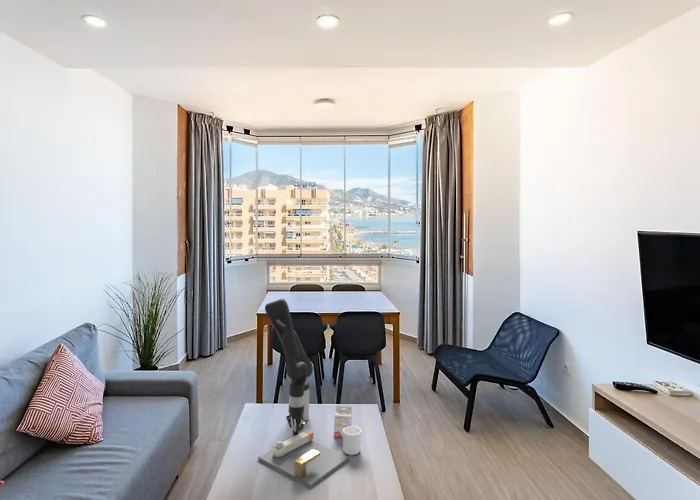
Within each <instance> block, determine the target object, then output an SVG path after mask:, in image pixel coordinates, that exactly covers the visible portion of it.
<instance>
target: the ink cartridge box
mask: <svg viewBox="0 0 700 500" xmlns="http://www.w3.org/2000/svg"><path fill="white" fill-rule="evenodd" d="M352 409H353V408H352V406H345V405H336V408H335V410H336V411H335V414H334V421H333V422H334V423H333V425H334V429H333V437H334V438H341V439H343V438H342V437H343V429H344V428H345V427H347V426H352V415H353V413H352Z"/></svg>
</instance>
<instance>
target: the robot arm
mask: <svg viewBox="0 0 700 500" xmlns="http://www.w3.org/2000/svg"><path fill="white" fill-rule="evenodd" d="M264 309H265V313H266V316H267V318H268V319H269V322H270V324H272V327H273V328H274V330H275V332H276V335H277V337H278V339H279V341H280V343H281V347H282V350H283V354H284V356H285V372H286V375H287V377H288V379H290V381H291V383H290V385H289V396H288V415H286V416H285V418H286V421H287V424H288V427H289V429H291V430H292V437H294V436H296V435H298V434H300V431H302V430H303V429H304V428H305V427H306V425H307V422H306V421H308V420H309V417H310V383H309V381H308V380H307V379H308V378H309V377H311V376H312V375H313V371H314V368H313V367H314V366H313V363H312V361H311V360H310V358H309V357H308V355H307V353H306V351H305V348H303V345H302V343H301V340H300V337H299V336H298V332H296V330H294V325H293V322H292V321H293V320H292V317H291V313H290V308H289V304H288V302H287V300H286V299H284V298H280V299H277V300H274V301H270V302H269V303H267V304H265V306H264ZM282 318H284V323H282V322H281V320H280V319H282Z"/></svg>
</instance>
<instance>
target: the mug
mask: <svg viewBox="0 0 700 500" xmlns="http://www.w3.org/2000/svg"><path fill="white" fill-rule="evenodd" d="M361 438H362V429H361V428H360V427H359V426H356V425H351V426H347V427H345V428H344V429H343V438H342V444H343V445H342V447H343V451H342V452H343V453H344V455H346V454H347V455H346V456H349V455H355V456H357V455H356V454H358V453H359V452H360V453H361ZM360 453H359V454H360ZM359 454H358V455H359Z"/></svg>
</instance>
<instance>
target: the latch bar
mask: <svg viewBox="0 0 700 500" xmlns="http://www.w3.org/2000/svg"><path fill="white" fill-rule="evenodd" d="M313 440H314V431H312V430H309V429H306V430H304V431H302V432H299V434H298V435H296V436H294V437H293V436H292V437H289V438H288V439H286V440H284V441H282V440H277V441H276V442H275V444H274V445H273V446H272V449H273V456H274V457H283V456H284V455H285V454H286V453H288V452H290V451H292V450H294V449H296V448H297V447H299V446H301V445H303V444H305V443H307V442H309V441H313Z"/></svg>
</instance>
